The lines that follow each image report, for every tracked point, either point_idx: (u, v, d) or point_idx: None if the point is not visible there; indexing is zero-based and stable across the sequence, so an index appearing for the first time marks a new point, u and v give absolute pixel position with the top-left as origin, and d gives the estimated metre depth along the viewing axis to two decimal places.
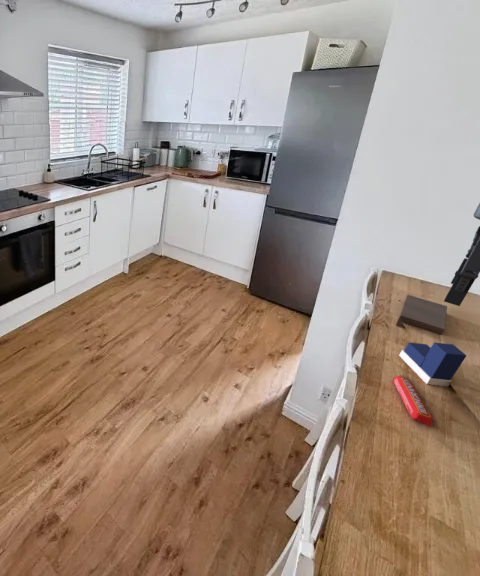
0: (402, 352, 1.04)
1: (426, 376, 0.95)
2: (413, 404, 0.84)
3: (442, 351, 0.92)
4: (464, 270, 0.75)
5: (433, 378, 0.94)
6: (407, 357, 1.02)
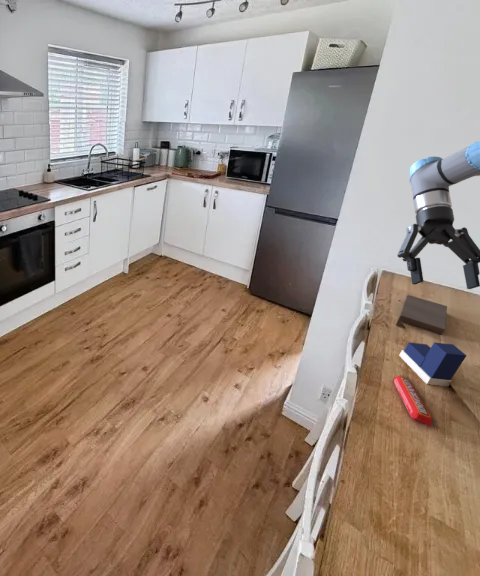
0: (402, 352, 1.04)
1: (426, 376, 0.95)
2: (413, 404, 0.84)
3: (442, 351, 0.92)
4: (398, 252, 0.99)
5: (433, 378, 0.94)
6: (407, 357, 1.02)
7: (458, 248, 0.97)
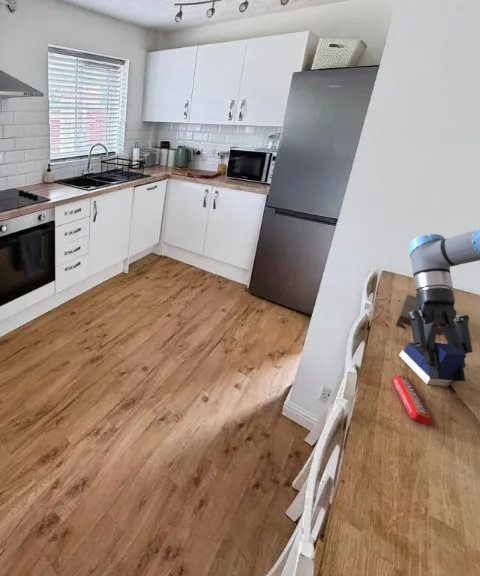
0: (402, 352, 1.04)
1: (426, 376, 0.95)
2: (412, 404, 0.84)
3: (442, 351, 0.92)
4: (414, 344, 0.96)
5: None
6: (407, 357, 1.02)
7: (450, 333, 0.94)
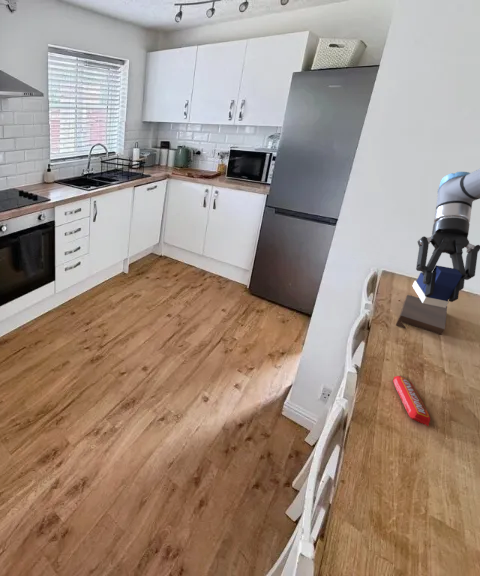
0: (414, 282, 1.12)
1: (424, 296, 1.04)
2: (411, 403, 0.85)
3: (438, 270, 1.00)
4: (416, 266, 1.05)
5: (429, 297, 1.02)
6: (416, 285, 1.10)
7: (456, 259, 1.01)
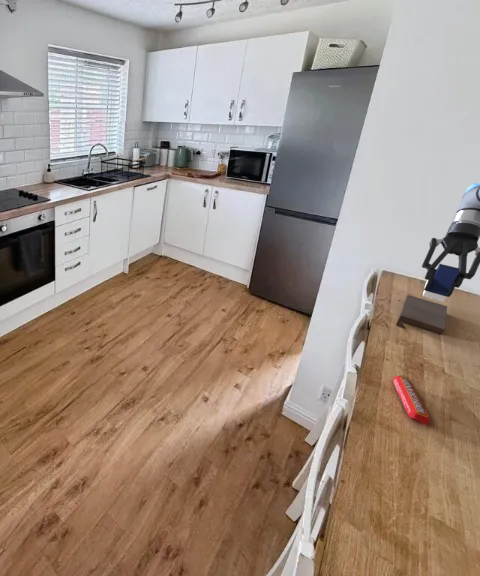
0: (427, 280, 1.23)
1: None
2: (411, 403, 0.85)
3: (438, 267, 1.12)
4: (422, 264, 1.17)
5: (428, 291, 1.14)
6: (426, 282, 1.21)
7: (460, 260, 1.12)
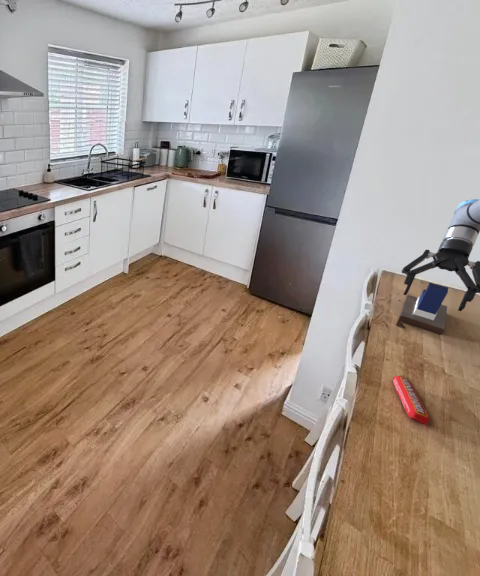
0: (418, 298, 1.26)
1: (415, 308, 1.19)
2: (410, 403, 0.85)
3: (428, 286, 1.15)
4: None
5: (419, 309, 1.17)
6: (417, 300, 1.24)
7: (462, 276, 1.13)
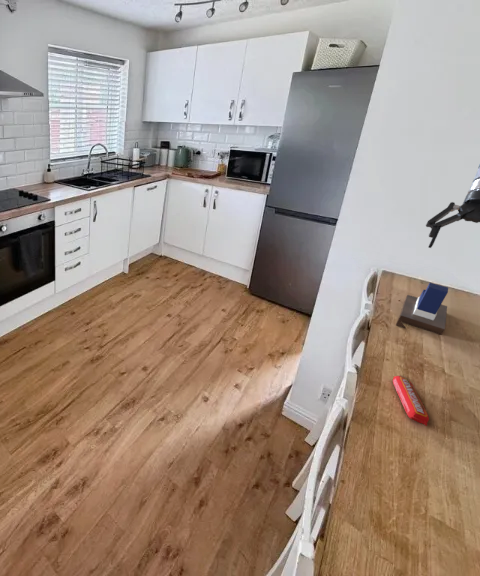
0: (418, 298, 1.26)
1: (415, 308, 1.19)
2: (410, 403, 0.85)
3: (428, 286, 1.15)
4: None
5: (419, 309, 1.17)
6: (417, 300, 1.24)
7: None
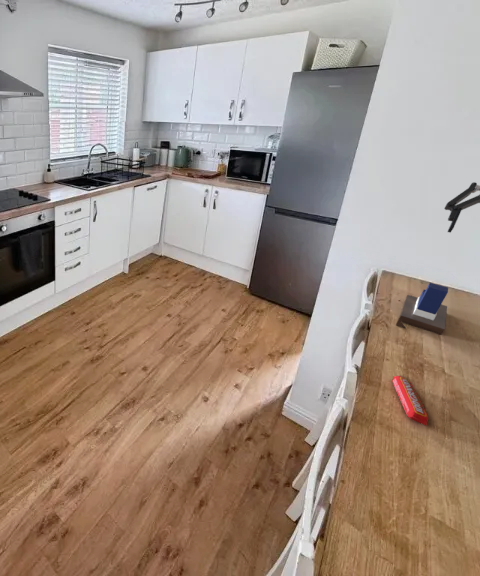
0: (418, 298, 1.26)
1: (415, 308, 1.19)
2: (409, 403, 0.85)
3: (428, 286, 1.15)
4: None
5: (419, 309, 1.17)
6: (417, 300, 1.24)
7: None
